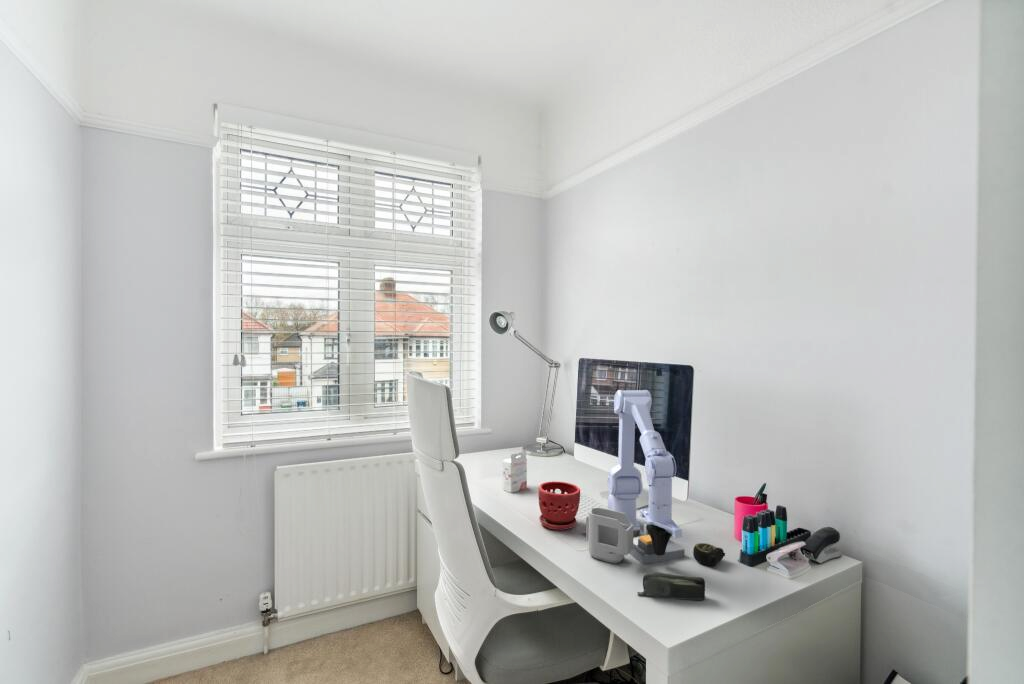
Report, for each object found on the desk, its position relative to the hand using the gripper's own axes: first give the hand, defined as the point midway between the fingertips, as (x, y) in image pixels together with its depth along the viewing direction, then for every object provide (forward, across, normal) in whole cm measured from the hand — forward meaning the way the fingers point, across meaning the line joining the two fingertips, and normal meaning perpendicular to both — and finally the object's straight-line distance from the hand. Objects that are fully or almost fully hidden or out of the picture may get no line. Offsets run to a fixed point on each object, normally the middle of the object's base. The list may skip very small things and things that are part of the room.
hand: (659, 554), depth 121 cm
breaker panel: (+3, -11, +3) cm, 12 cm away
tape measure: (+3, +2, +14) cm, 15 cm away
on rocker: (-1, -13, +7) cm, 15 cm away
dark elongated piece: (+3, +13, -6) cm, 15 cm away
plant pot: (+3, -33, -14) cm, 36 cm away
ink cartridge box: (+3, -70, -16) cm, 71 cm away
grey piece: (+3, -7, -10) cm, 13 cm away
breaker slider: (+1, -5, 0) cm, 5 cm away
